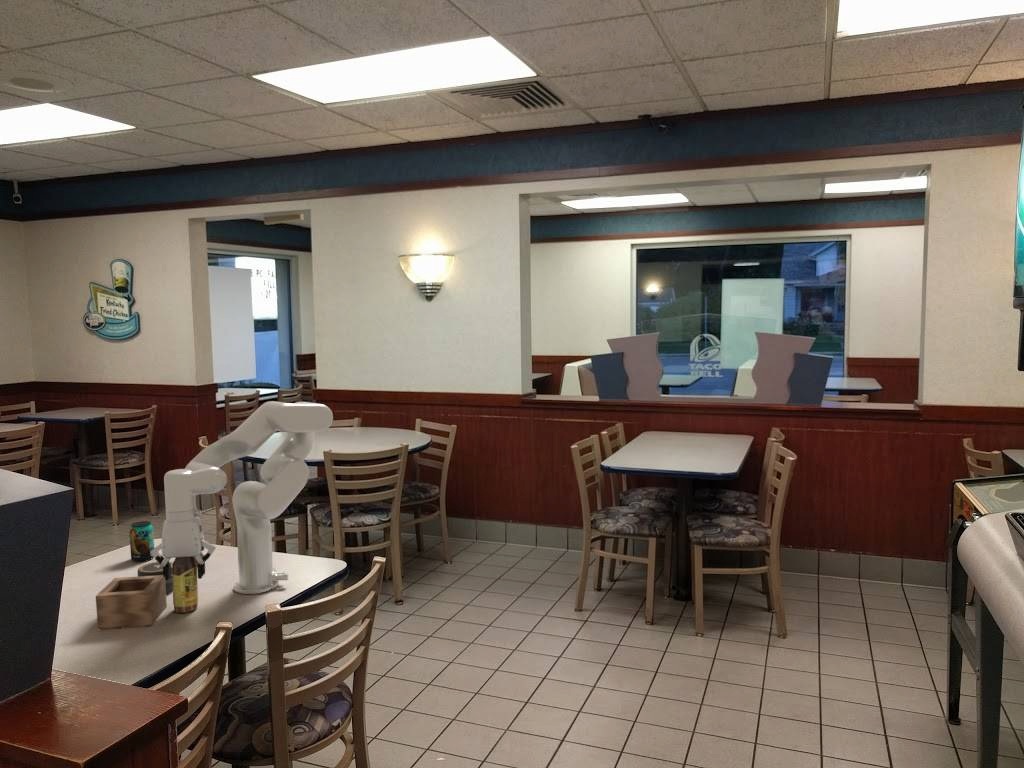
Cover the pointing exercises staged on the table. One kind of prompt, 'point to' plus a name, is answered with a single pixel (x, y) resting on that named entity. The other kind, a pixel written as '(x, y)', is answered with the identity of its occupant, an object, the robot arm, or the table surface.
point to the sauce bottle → (185, 584)
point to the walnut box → (131, 602)
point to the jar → (156, 573)
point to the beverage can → (141, 541)
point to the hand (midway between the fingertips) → (184, 577)
